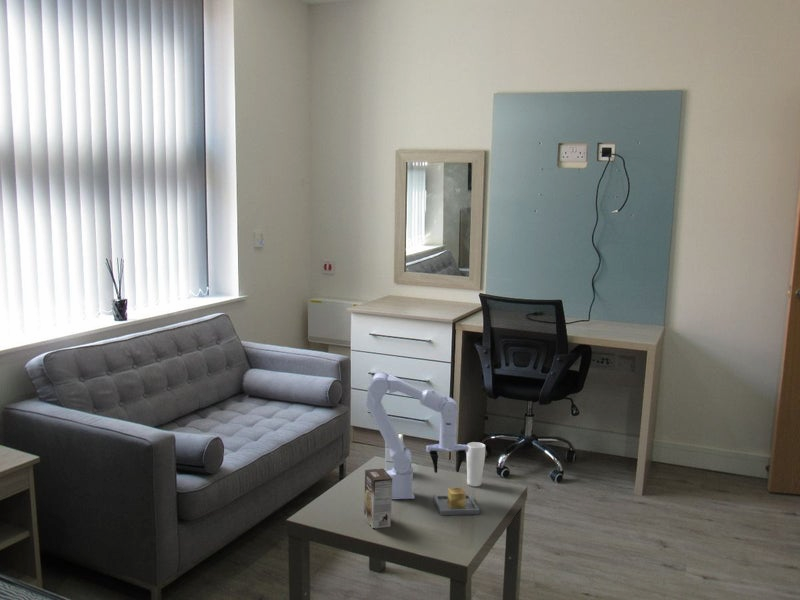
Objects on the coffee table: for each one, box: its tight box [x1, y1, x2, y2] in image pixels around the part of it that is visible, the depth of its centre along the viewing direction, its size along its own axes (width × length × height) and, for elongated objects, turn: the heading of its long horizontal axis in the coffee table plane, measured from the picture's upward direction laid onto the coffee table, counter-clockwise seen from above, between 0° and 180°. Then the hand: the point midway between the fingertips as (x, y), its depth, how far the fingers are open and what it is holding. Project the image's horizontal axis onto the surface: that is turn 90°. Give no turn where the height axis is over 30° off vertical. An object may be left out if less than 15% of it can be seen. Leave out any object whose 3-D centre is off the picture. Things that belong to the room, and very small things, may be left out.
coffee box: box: [363, 468, 393, 529], centre depth 228 cm, size 9×6×16 cm
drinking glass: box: [466, 441, 486, 488], centre depth 262 cm, size 7×7×15 cm
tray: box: [433, 493, 481, 516], centre depth 242 cm, size 13×13×2 cm
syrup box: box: [384, 433, 404, 471], centre depth 271 cm, size 6×6×14 cm
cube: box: [447, 487, 467, 508], centre depth 242 cm, size 5×5×5 cm
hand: (446, 471), depth 249 cm, fingers open, 7 cm apart
